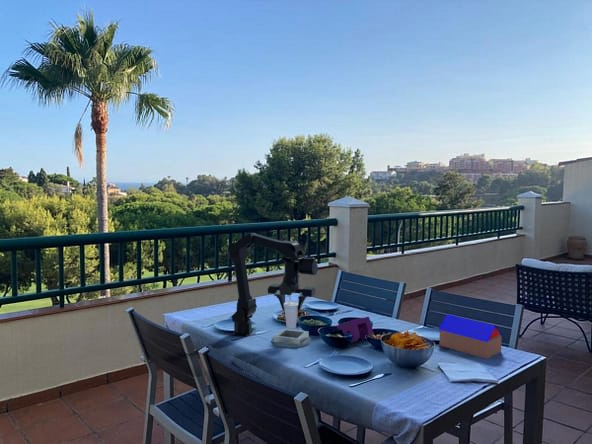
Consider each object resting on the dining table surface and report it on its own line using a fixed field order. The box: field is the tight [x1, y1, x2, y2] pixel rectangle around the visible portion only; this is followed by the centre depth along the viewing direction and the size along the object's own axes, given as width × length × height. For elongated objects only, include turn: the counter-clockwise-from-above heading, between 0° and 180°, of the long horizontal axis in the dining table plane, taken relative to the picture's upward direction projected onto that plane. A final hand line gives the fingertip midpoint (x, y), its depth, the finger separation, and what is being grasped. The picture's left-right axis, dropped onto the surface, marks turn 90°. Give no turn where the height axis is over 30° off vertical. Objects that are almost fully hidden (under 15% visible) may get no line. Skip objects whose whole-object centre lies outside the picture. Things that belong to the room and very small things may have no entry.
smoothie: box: [284, 294, 299, 330], centre depth 185 cm, size 6×6×14 cm
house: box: [438, 314, 503, 360], centre depth 178 cm, size 12×20×12 cm, turn 41°
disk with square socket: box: [271, 328, 312, 349], centre depth 186 cm, size 16×16×3 cm
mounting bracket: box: [333, 316, 374, 344], centre depth 192 cm, size 9×8×18 cm
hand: (291, 311), depth 185 cm, fingers closed on smoothie, 6 cm apart
